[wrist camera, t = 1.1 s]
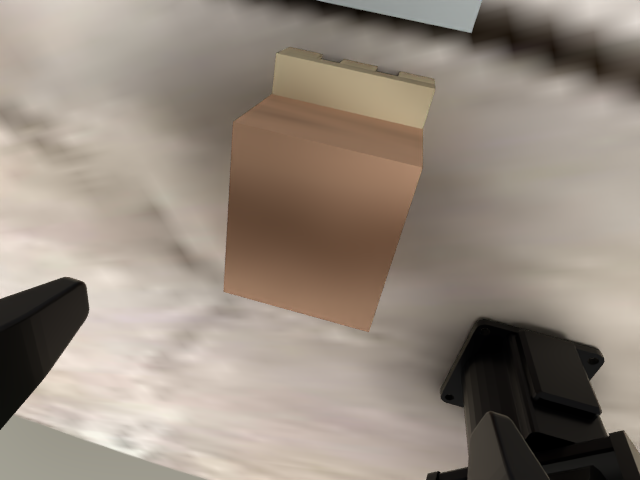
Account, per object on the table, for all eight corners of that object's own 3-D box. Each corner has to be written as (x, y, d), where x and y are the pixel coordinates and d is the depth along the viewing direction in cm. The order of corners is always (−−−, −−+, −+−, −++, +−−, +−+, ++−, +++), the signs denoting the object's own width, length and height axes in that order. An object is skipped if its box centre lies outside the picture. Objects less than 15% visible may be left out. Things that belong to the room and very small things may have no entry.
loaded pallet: (374, 273, 22) (360, 357, 17) (266, 244, 23) (222, 318, 18) (434, 78, 17) (438, 118, 12) (290, 46, 17) (235, 71, 12)
